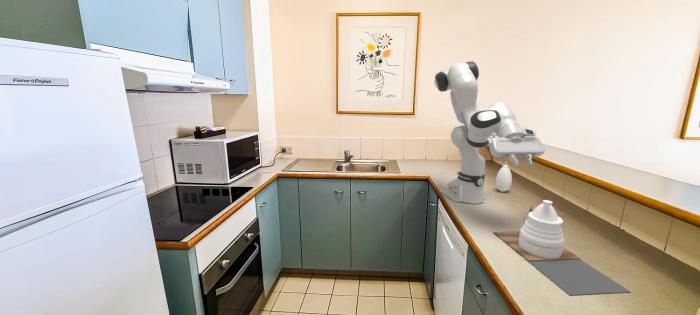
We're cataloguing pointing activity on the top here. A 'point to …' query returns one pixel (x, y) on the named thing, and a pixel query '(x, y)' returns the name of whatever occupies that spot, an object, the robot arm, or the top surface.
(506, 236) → the cutting board
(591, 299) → the top surface
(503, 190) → the white tall oval piece
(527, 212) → the packaged product
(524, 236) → the honey pot
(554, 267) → the trivet mat
